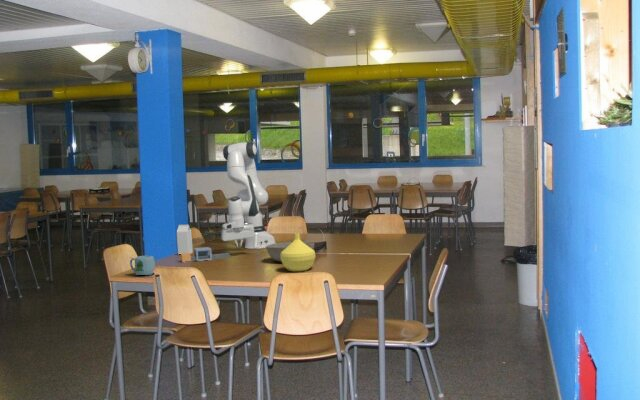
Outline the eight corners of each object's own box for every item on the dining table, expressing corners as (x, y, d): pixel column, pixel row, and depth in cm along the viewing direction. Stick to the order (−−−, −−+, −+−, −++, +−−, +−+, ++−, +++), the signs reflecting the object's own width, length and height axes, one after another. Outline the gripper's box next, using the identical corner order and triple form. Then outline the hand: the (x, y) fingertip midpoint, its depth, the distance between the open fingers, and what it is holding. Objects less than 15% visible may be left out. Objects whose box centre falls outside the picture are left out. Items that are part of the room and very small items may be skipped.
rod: (228, 257, 408) (228, 252, 408) (229, 258, 406) (229, 253, 405) (190, 261, 402) (190, 256, 402) (190, 262, 399) (190, 257, 399)
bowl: (304, 265, 365) (303, 247, 365) (258, 264, 375) (257, 247, 374) (321, 256, 391) (320, 239, 390) (278, 256, 401) (277, 240, 400)
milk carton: (188, 254, 427) (186, 225, 426) (178, 255, 429) (176, 225, 427) (192, 253, 434) (190, 223, 433) (182, 253, 436) (180, 224, 434)
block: (190, 260, 403) (189, 252, 402) (191, 261, 398) (190, 253, 398) (181, 261, 401) (181, 253, 401) (182, 262, 397) (181, 254, 396)
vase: (288, 266, 362) (286, 231, 361) (320, 266, 357) (318, 231, 356) (276, 273, 345) (274, 236, 344) (310, 273, 340) (308, 235, 338)
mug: (124, 276, 359) (123, 258, 358) (137, 272, 369) (135, 254, 368) (148, 277, 353) (146, 258, 352) (160, 273, 363) (159, 254, 363)
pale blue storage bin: (209, 258, 409) (208, 246, 408) (212, 260, 400) (211, 248, 400) (194, 259, 406) (193, 248, 405) (196, 261, 397) (196, 250, 397)
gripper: (252, 221, 415) (254, 243, 416) (219, 225, 408) (221, 248, 409) (254, 222, 409) (257, 244, 410) (222, 226, 402) (224, 249, 403)
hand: (239, 246), depth 410 cm, fingers closed
